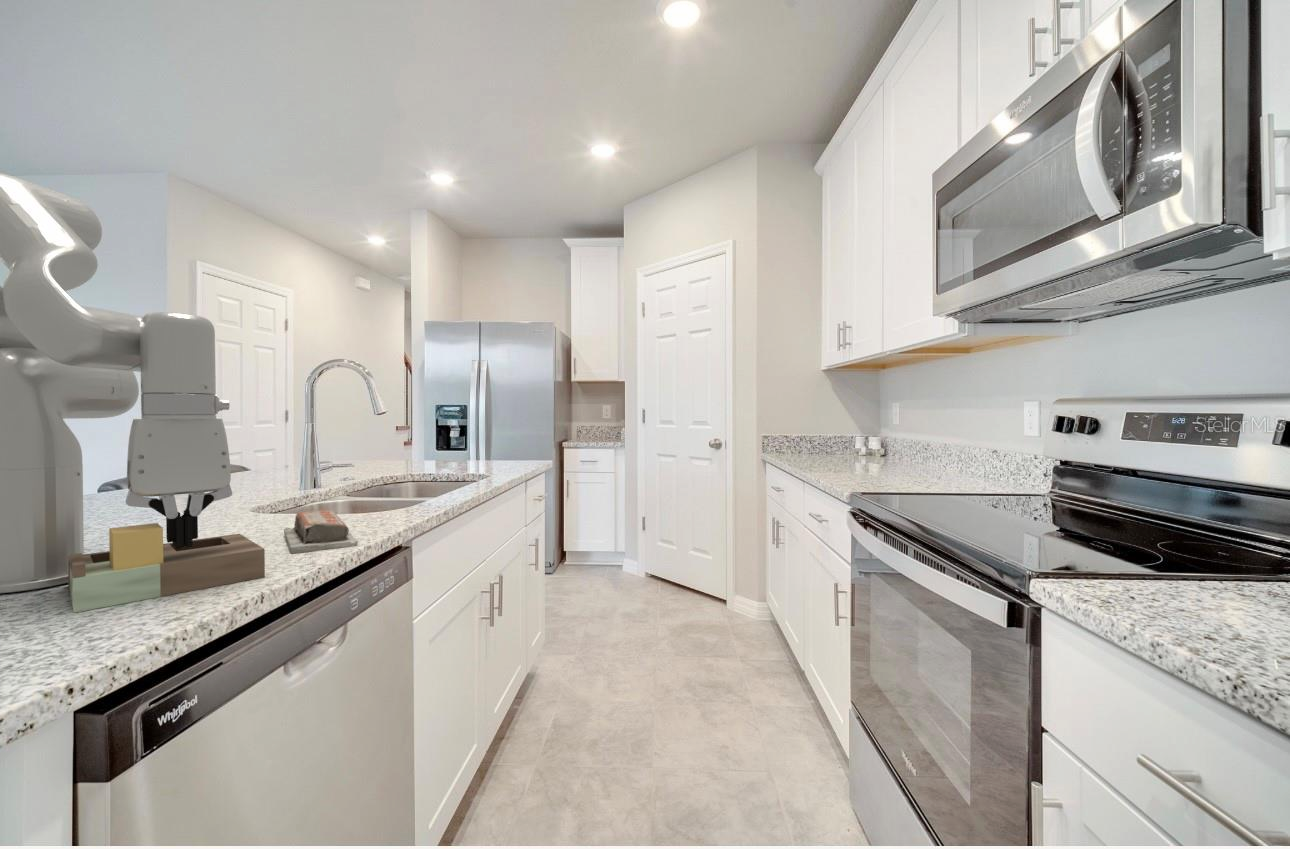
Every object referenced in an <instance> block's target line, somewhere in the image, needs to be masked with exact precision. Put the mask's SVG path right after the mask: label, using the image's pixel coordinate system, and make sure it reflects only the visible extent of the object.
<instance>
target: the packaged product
mask: <svg viewBox="0 0 1290 849" xmlns="http://www.w3.org/2000/svg"><path fill="white" fill-rule="evenodd" d="M283 533H284V536H285V541H286V546H287V548H288V550H289V552H290V554H291V555H294V554H303V553H312V552H317V551H327V550H334V549H340V548H342V549H343V548H351V547H357V546H358V540H357V538H355V537H354V536H353V534H352V533H351V532H350V529H349V527H348V526H347V524H346V523H345V522H344V521H343V520H342V519H341V518H340V517H339V516H338V515H337V513H336V512H335V511H333V510H327V509H320V510H309V511H303V512H302V511H300V512H298V513H296V515H295V521H294V527H293V528H290V527H286V528H284V529H283Z"/></svg>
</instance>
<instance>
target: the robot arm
mask: <svg viewBox="0 0 1290 849" xmlns="http://www.w3.org/2000/svg"><path fill="white" fill-rule="evenodd" d="M101 224H102V223H101V221H100V219H99V217H98V216H97V214H96V212H94V210H92V209H91V207H89V206H88V205H87V204H86V203H84V202H83V201H81V200H79V199H78V198H75V197H72V196H71V195H67V194H66V193H62V192H59V191H57V190H53V189H51V188H48V187H44V186H42V185H40V184H37V183H34V182H31V181H28V180H26V179H22V178H20V177H18V176H13V175H9V174H6V173H3V172H0V261H1V262H2V263H3V264H4V266H6V268H8V269H9V271H8V273H7V275H6V277H5V279H4V282H3V286H2V285H0V594H7V593H8V594H9V593H16V592H17V593H18V592H24V591H30V590H37V589H45V588H48V587H49V588H50V587H54V586H58V585H64V584H68V556H70V555H71V554H79V553H82V555H84V554H85V551H84V550H85V541H84V540H85V538H84V530H85V528H84V526H85V525H84V476H83V475H84V469H83V468H84V467H83V465H84V464H83V451H82V446H81V444H80V442H79V439H78V438H77V437H76V435H75V434H74V432H73V431H72V430H71V428H70V427H69V426H68V424H67V423H66V422H65V419H66V420H67V419H68V420H70V419H104V418H105V419H107V418H114V417H118V416H121V415H122V414H125V413H127V412H130V410H131V409H132V408H133V407H134V406H135V405H136V403H137V401H138V398H139V394H140V397H141V398H140V401H141V402H140V410H141V411H140V412H141V418H133V419H132V422H131V426H130V432H129V437H128V447H127V457H126V458H127V460H126V461H127V462H126V463H127V464H126V486H127V489H128V492H127V496H126V499H125V504H126V505H127V506H129V507H134V508H135V507H137V508H146V509H147V508H149V509H153V510H154V511H156V512H158V513H159V514H160V515H162V516H164V517H165V520H166V521H165V523H166V524H165V529H166V542H167V543H173V546H174V547H175V548H176V549H179V548H182V547H184V546H185V547H192V546H193V540H196V539H199V528H198V527H199V523H198V522H199V521H198V520H199V519H198V518H199V517H198V516H200V515H201V513H202V511H204V510H205V509H206V508H207V507H209V505H210V504H213V502H215V501H216V502H217V501H220V500H223V499H227V498H229V497H231V496H233V490H232V487H231V485H230V484H231V480H232V479H231V476H232V473H231V472H232V471H231V470H232V468H231V460H230V451H229V443H228V437H227V433H226V429H225V424H224V420H223V418H217V415H218V414H219V412H220V411H223V410H224V411H225V410H227V411H228V410H230V401H229V400H228V399H227V400H225V399H224V400H223V399H220V398H219V397H218V395H217V393H216V391H217V386H216V384H217V383H216V334H215V332H216V331H215V327H214V324H213V323H212V321H210V319H208V318H205V317H203V316H201V315H196V314H191V313H190V314H189V313H180V312H170V311H168V312H167V311H166V312H165V311H164V312H163V311H158V312H157V311H155V312H151V313H147V314H145V315H143V316H140V315H135V314H129V313H125V312H118V311H113V310H107V309H103V308H98V307H97V308H96V307H89V306H85V305H80V303H79V302H77V301H76V300H74V299H73V298H72V297H71V296H70V295H69V294H68V292H66V291H69V290H70V291H71V290H73V289H76V288H78V287H80V286H83V285H84V284H86V283H87V282H88V281H90V280H91V279H92V278H93V277H94V275H95V274H96V272H97V271H98V270H97V269H98V267H99V266H98V265H99V264H98V258H97V256H96V254H95V253H94V250H95V249H96V248H97V247H98V246H99V244H100V242H101V241H102V236H103V229H102V225H101ZM135 372H137V373H139V372H140V389H139V383H138V378H137V377H136V374H135ZM139 392H140V393H139ZM176 495H187V500H186V504H185V505H186V506H185V510H183V514H182V515H181V513H180V512H179V511H178V507H177V502H176V497H175V496H176ZM157 497H158V498H157Z"/></svg>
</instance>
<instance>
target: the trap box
mask: <svg viewBox="0 0 1290 849" xmlns="http://www.w3.org/2000/svg"><path fill="white" fill-rule="evenodd" d="M192 540H193V546H192V547H185V546H184V547H182V548H179V549H176V548H175V547H174V546H173V542H169V543H168V542H167V543H163V563H161V564H155V565H148V566H142V567H136V568H129V569H123V570H116V571H113V569H112V567H111V565H110V550H109V551H108V550H106V551H100V552H92V553H86V554H85V553H84V555H82V553H79V554H71V555H70V556H68V583H67V584H68V591H69V596H70V602H71V607H72V613H74V614H75V613H80V612H81V613H82V612H85V611H90V610H96V609H102V608H107V607H113V606H118V605H124V604H128V603H135V602H139V601H145V600H150V599H154V598H160V597H161V598H162V597H166V596H172V595H176V594H182V593H188V592H193V591H197V590H204V589H208V588H214V587H218V586H225V585H229V584H236V583H240V582H241V583H242V582H247V581H250V580H256V579H261V578H265V576H266V575H265V574H266V573H265V570H266V569H265V568H266V567H265V565H266V562H265V560H266V559H265V558H266V557H265V551H266V550H265V547H262V546H261V545H259V544H258V543H256V542H254V541H253V540H251V539H249V538H248V537H245V536H244V535H243V534H241V533H235V534H226V535H219V536H214V537H212V536H211V537H204V538H197V539H192Z"/></svg>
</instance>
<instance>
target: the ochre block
mask: <svg viewBox="0 0 1290 849" xmlns="http://www.w3.org/2000/svg"><path fill="white" fill-rule="evenodd" d="M108 534H109V535H108V536H109V537H108V538H109V544H108V545H109V551H110V565H111V567H112V569H113V571H116V570H123V569H129V568H136V567H142V566H148V565H155V564H161V563H163V544H164V528H163V526H162V525H160V524H159V523H158V522H156V523H146V524H136V525H128V526H119V527H111V528H109V532H108Z"/></svg>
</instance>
